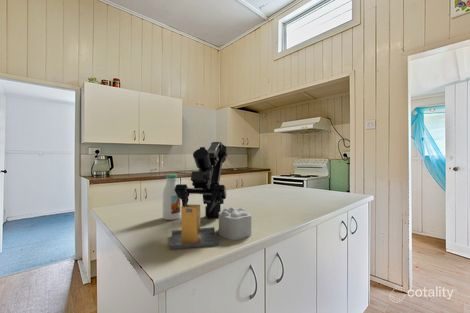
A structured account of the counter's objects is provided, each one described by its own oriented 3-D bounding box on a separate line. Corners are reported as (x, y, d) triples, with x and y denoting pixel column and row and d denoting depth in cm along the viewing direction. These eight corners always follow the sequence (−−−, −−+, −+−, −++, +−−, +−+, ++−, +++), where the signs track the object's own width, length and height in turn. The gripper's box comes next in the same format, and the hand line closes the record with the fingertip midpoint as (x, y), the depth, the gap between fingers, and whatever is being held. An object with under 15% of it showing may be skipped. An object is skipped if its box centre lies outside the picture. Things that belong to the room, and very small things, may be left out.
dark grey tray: (214, 232, 82) (214, 227, 82) (218, 245, 70) (218, 239, 70) (172, 236, 78) (172, 230, 78) (169, 250, 67) (169, 243, 67)
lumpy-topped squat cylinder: (231, 241, 74) (231, 215, 74) (212, 230, 84) (212, 208, 84) (255, 234, 80) (255, 210, 80) (234, 225, 90) (234, 204, 90)
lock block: (186, 237, 74) (185, 204, 74) (200, 237, 73) (200, 204, 73) (181, 242, 70) (181, 207, 70) (196, 242, 69) (196, 207, 69)
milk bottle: (164, 221, 96) (164, 175, 96) (161, 217, 103) (161, 174, 103) (182, 219, 100) (181, 174, 100) (178, 215, 107) (177, 173, 107)
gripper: (176, 163, 83) (163, 198, 73) (224, 162, 81) (219, 199, 70) (183, 181, 91) (173, 215, 80) (228, 181, 89) (223, 216, 78)
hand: (196, 211), depth 77 cm, fingers open, 9 cm apart
